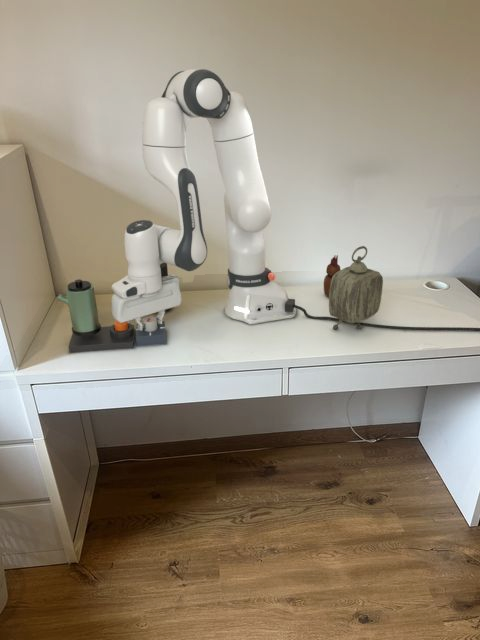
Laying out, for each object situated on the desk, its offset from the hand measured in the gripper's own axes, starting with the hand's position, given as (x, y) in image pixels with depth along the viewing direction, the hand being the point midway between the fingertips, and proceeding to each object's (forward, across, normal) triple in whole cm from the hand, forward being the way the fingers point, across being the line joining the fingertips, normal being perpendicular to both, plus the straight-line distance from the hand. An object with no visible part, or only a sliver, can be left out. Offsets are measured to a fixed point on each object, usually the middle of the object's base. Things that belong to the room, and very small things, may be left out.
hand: (150, 326), depth 155 cm
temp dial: (+1, 0, 0) cm, 1 cm away
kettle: (0, +16, -10) cm, 19 cm away
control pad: (+4, 0, 0) cm, 4 cm away
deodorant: (+4, -12, -16) cm, 20 cm away
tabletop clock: (+4, -51, +32) cm, 60 cm away
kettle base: (+4, +12, -7) cm, 14 cm away
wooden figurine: (+4, -63, +11) cm, 64 cm away
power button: (0, +7, -4) cm, 8 cm away
